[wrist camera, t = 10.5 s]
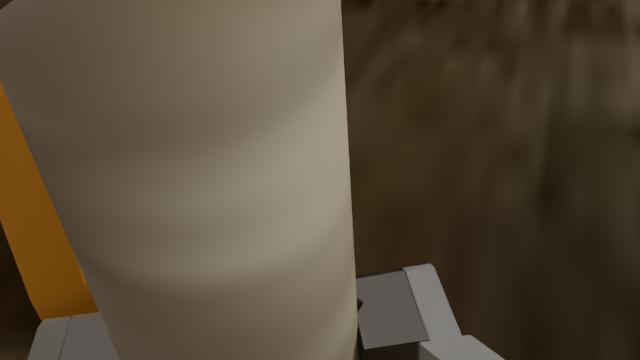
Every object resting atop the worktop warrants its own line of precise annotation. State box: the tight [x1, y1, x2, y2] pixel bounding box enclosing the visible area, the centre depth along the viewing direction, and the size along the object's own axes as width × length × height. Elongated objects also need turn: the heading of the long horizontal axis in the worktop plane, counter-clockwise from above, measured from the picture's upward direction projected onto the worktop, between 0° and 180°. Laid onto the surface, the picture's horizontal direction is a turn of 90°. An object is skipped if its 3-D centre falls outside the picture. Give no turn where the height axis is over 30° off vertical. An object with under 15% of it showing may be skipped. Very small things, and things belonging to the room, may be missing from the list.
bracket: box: [0, 82, 99, 321], centre depth 28 cm, size 11×7×12 cm, turn 20°
